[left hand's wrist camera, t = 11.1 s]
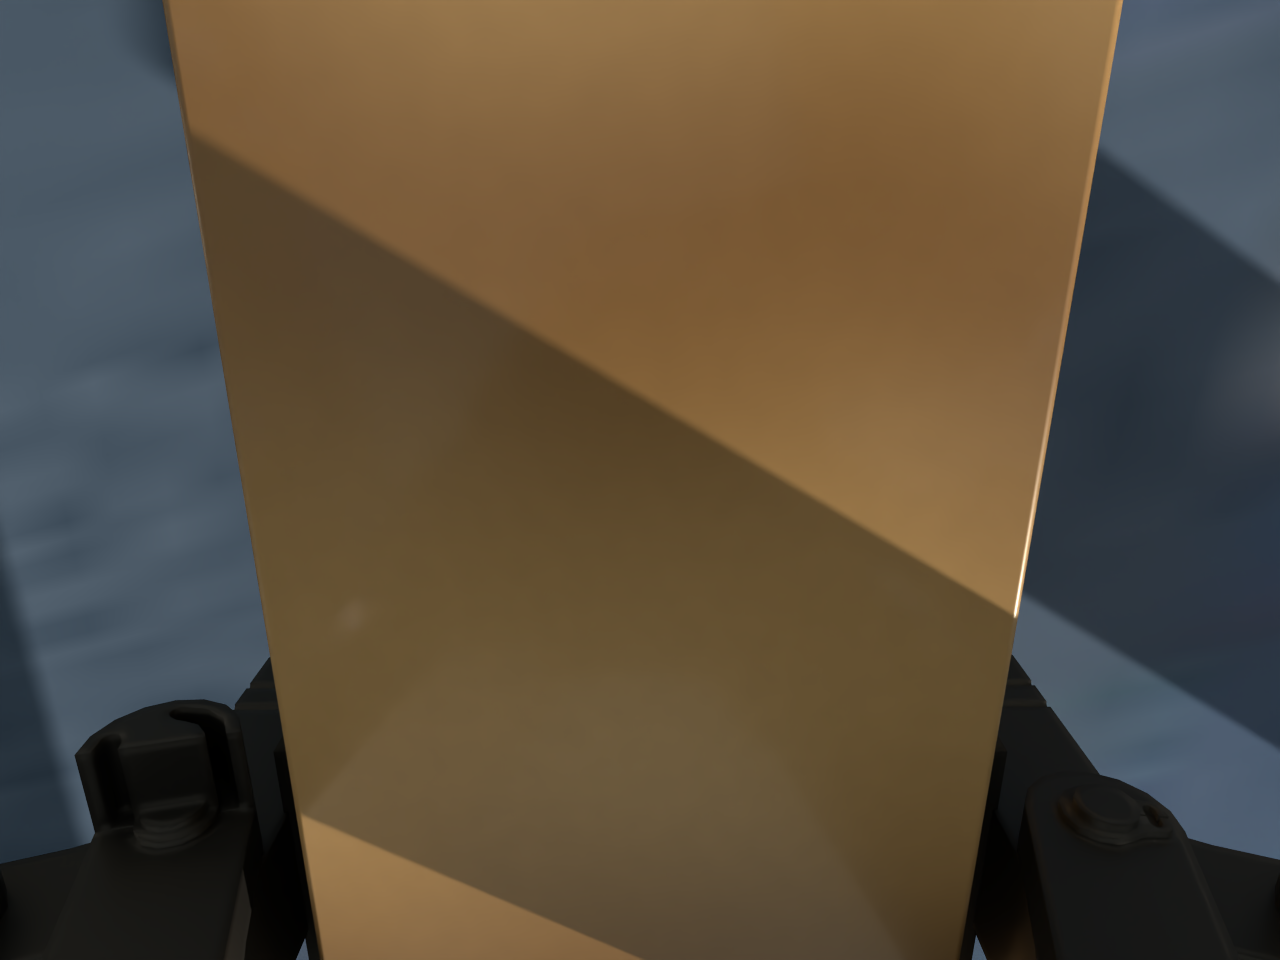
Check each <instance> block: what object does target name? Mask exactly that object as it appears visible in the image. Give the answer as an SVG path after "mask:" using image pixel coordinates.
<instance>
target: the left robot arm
mask: <svg viewBox="0 0 1280 960" xmlns="http://www.w3.org/2000/svg"><path fill="white" fill-rule="evenodd" d="M75 759H76V762H77V766H78V770H79V774H80V777H81V781H82V785H83V789H84V793H85V796H86V800H87V804H88V808H89V811H90V815H91V819H92V823H93V826H94V830H95V834H94V837H93V839H92V841H91V843H88V844H84V845H81V846H77V847H74V848H70V849H66V850H62V851H57V852H53V853H48V854H43V855H39V856H34V857H30V858H25V859H21V860H16V861H12V862H7V863H3V864H0V960H296V958H297V956H298V953H299V951H300V949H301V946H302V944H303V942H304V939H306V945H307V951H308V957H309V960H320V956H319V950H318V944H317V938H316V931H315V925H314V919H313V913H312V907H311V901H310V895H309V889H308V883H307V877H306V871H305V865H304V858H303V852H302V846H301V840H300V834H299V828H298V822H297V816H296V810H295V804H294V798H293V792H292V785H291V779H290V773H289V767H288V761H287V755H286V749H285V743H284V737H283V731H282V725H281V719H280V712H279V706H278V700H277V694H276V688H275V682H274V676H273V670H272V664H271V658H268V660H267V661H266V662H265V664H264V665H263V667H262V668H261V669H260V671H259V672H258V673H257V675H256V676H255V678H254V679H253V680H252V682H251V683H250V689H246V690H245V691H244V693H243V694H242V696H241V697H240V698H239V700H238V701H237V702H236V704H235V710H232V709H231V708H229V707H228V706H227V705H225V704H221V703H217V702H213V701H208V700H204V699H203V700H175V701H171V702H167V703H162V704H158V705H154V706H149V707H145V708H142V709H140V710H138V711H135V712H133V713H130V714H128V715H126V716H123V717H121V718H118V719H116V720H114V721H113V722H111V723H110V724H108V725H107V726H105V727H104V728H102V729H101V730H99V731H98V732H96V733H95V734H93V735H92V736H90V737H89V739H88V740H87V741H86V742H85V743H84V745H83V746H82V747H81V748H80V749H79V751H78V752H77V753H76V754H75ZM976 935H977V938H978V940H979V942H980V945H981V947H982V949H983V952H984V954H985V956H986V959H987V960H1280V860H1278V859H1273V858H1269V857H1264V856H1260V855H1255V854H1250V853H1246V852H1241V851H1237V850H1232V849H1228V848H1223V847H1218V846H1214V845H1210V844H1207V843H1203V842H1200V841H1196V840H1193V839H1189V838H1188V837H1187V835H1186V833H1185V831H1184V829H1183V828H1182V827H1181V825H1180V824H1179V822H1178V821H1177V820H1176V818H1175V817H1174V815H1173V814H1172V813H1171V811H1170V810H1168V809H1167V808H1166V807H1164V806H1163V805H1162V804H1160V803H1159V802H1158V801H1157V800H1155V799H1154V798H1153V797H1151V796H1150V795H1149V794H1147V793H1146V792H1143V791H1141V790H1139V789H1137V788H1135V787H1133V786H1131V785H1129V784H1127V783H1125V782H1122V781H1120V780H1118V779H1114V778H1110V777H1106V776H1102V775H1100V774H1099V773H1098V771H1097V770H1096V769H1095V767H1094V766H1093V765H1092V763H1091V762H1090V761H1089V759H1088V758H1087V756H1086V755H1085V754H1084V752H1083V751H1082V750H1081V748H1080V747H1079V745H1078V744H1077V743H1076V741H1075V740H1074V739H1073V737H1072V736H1071V734H1070V733H1069V732H1068V730H1067V729H1066V728H1065V726H1064V725H1063V723H1062V722H1061V721H1060V719H1059V718H1058V717H1057V715H1056V714H1055V713H1054V711H1053V710H1052V708H1051V707H1047V705H1046V700H1045V699H1044V697H1043V696H1042V695H1041V693H1040V692H1039V691H1038V689H1037V688H1036V686H1035V685H1031V680H1030V678H1029V677H1028V675H1027V674H1026V673H1025V671H1024V670H1023V669H1022V667H1021V666H1020V664H1019V663H1018V662H1017V660H1016V659H1015V658H1014V656H1013V655H1012V654H1011V659H1010V665H1009V671H1008V677H1007V683H1006V689H1005V695H1004V700H1003V706H1002V712H1001V718H1000V724H999V730H998V736H997V741H996V747H995V753H994V759H993V765H992V771H991V777H990V782H989V788H988V794H987V800H986V806H985V812H984V818H983V824H982V829H981V835H980V841H979V847H978V853H977V859H976V865H975V870H974V876H973V882H972V888H971V894H970V900H969V906H968V911H967V917H966V923H965V929H964V935H963V941H962V947H961V952H960V958H959V960H972V955H973V949H974V943H975V938H976Z"/></svg>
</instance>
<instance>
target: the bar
mask: <svg viewBox="0 0 1280 960" xmlns="http://www.w3.org/2000/svg"><path fill="white" fill-rule="evenodd" d="M162 1H163V7H164V13H165V19H166V25H167V31H168V37H169V43H170V49H171V56H172V62H173V68H174V74H175V80H176V86H177V92H178V98H179V104H180V110H181V116H182V122H183V129H184V135H185V141H186V147H187V153H188V159H189V165H190V171H191V177H192V183H193V189H194V195H195V202H196V208H197V214H198V220H199V226H200V232H201V238H202V244H203V250H204V256H205V262H206V268H207V275H208V281H209V287H210V293H211V299H212V305H213V311H214V317H215V323H216V329H217V335H218V341H219V348H220V354H221V360H222V366H223V372H224V378H225V384H226V390H227V396H228V402H229V408H230V414H231V421H232V427H233V433H234V439H235V445H236V451H237V457H238V463H239V469H240V475H241V481H242V487H243V493H244V500H245V506H246V512H247V518H248V524H249V530H250V536H251V542H252V548H253V554H254V560H255V566H256V573H257V579H258V585H259V591H260V597H261V603H262V609H263V615H264V621H265V627H266V633H267V639H268V646H269V652H270V658H271V664H272V670H273V676H274V682H275V688H276V694H277V700H278V706H279V712H280V719H281V725H282V731H283V737H284V743H285V749H286V755H287V761H288V767H289V773H290V779H291V785H292V792H293V798H294V804H295V810H296V816H297V822H298V828H299V834H300V840H301V846H302V852H303V858H304V865H305V871H306V877H307V883H308V889H309V895H310V901H311V907H312V913H313V919H314V925H315V931H316V938H317V944H318V950H319V956H320V960H959V958H960V952H961V947H962V941H963V935H964V929H965V923H966V917H967V911H968V906H969V900H970V894H971V888H972V882H973V876H974V870H975V865H976V859H977V853H978V847H979V841H980V835H981V829H982V824H983V818H984V812H985V806H986V800H987V794H988V788H989V782H990V777H991V771H992V765H993V759H994V753H995V747H996V741H997V736H998V730H999V724H1000V718H1001V712H1002V706H1003V700H1004V695H1005V689H1006V683H1007V677H1008V671H1009V665H1010V659H1011V654H1012V648H1013V642H1014V636H1015V630H1016V624H1017V618H1018V613H1019V607H1020V601H1021V595H1022V589H1023V583H1024V577H1025V571H1026V566H1027V560H1028V554H1029V548H1030V542H1031V536H1032V530H1033V525H1034V519H1035V513H1036V507H1037V501H1038V495H1039V489H1040V484H1041V478H1042V472H1043V466H1044V460H1045V454H1046V448H1047V442H1048V437H1049V431H1050V425H1051V419H1052V413H1053V407H1054V401H1055V396H1056V390H1057V384H1058V378H1059V372H1060V366H1061V360H1062V355H1063V349H1064V343H1065V337H1066V331H1067V325H1068V319H1069V314H1070V308H1071V302H1072V296H1073V290H1074V284H1075V278H1076V273H1077V267H1078V261H1079V255H1080V249H1081V243H1082V237H1083V231H1084V226H1085V220H1086V214H1087V208H1088V202H1089V196H1090V190H1091V185H1092V179H1093V173H1094V167H1095V161H1096V155H1097V149H1098V144H1099V138H1100V132H1101V126H1102V120H1103V114H1104V108H1105V103H1106V97H1107V91H1108V85H1109V79H1110V73H1111V67H1112V61H1113V56H1114V50H1115V44H1116V38H1117V32H1118V26H1119V20H1120V15H1121V9H1122V3H1123V0H162Z"/></svg>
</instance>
